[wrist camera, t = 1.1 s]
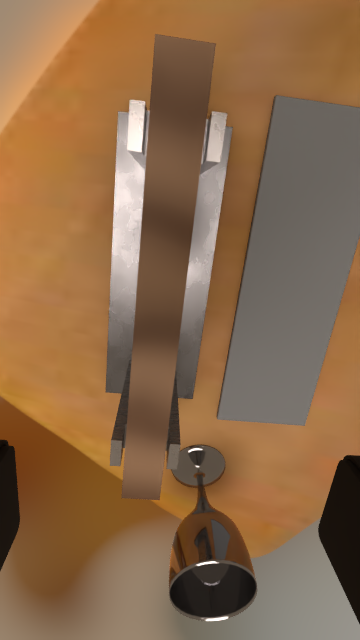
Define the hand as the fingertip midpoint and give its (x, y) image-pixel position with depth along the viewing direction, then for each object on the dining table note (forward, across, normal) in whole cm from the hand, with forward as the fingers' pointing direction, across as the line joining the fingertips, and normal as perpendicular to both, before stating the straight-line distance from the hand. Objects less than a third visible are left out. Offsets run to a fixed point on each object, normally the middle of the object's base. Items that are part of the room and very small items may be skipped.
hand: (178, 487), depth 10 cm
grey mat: (+27, -13, 0) cm, 30 cm away
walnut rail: (+15, +1, 0) cm, 15 cm away
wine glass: (+28, -6, +25) cm, 38 cm away
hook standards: (+27, +1, -1) cm, 27 cm away
